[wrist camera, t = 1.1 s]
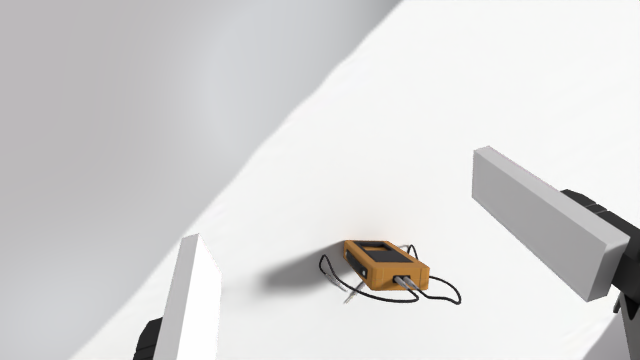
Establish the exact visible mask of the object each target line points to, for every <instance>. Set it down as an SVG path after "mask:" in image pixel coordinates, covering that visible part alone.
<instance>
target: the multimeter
mask: <svg viewBox="0 0 640 360" xmlns="http://www.w3.org/2000/svg"><path fill="white" fill-rule="evenodd" d="M411 246H412V248H413V250H414V253H415V256H416V259H415V258H414V257H412V256H411V255H409V252H410V248H411ZM324 256H325V257H326V259H327V261H328V264H329V266H330V269H331V271H332V273H333V275H334V276H335V278H336V279H337V280H338V281H339V282H341V283H342V284H343V285H345V286H346V287H348V288H350V289H351V290H353V291H355V292H354V295H357V294H358V293H359V294H362V295H364V296H367V297H370V298H373V299H377V300H381V301H386V302H394V303H412V302H416V301H418V300H419V297H418V295H416V294H415V293H414V292H413V291H412V290H417V291H419V292H420V293H421V294H422V295H424V296H425V297H426V298H428V299H442V300H448V301H451V302H452V303H454V304H456V305H459V304H461V296H460V294H459V292H458V290H457V289H456V288H455V287H454V286H453V285H451V284H450V283H448V282H446V281H444V280H442V279H440V278H437V277H433V276H429V270H430V268H429V267H428V266H426V265H425V264H423V263H422V262H420V261H419V260H418V257H417V253H416V250H415V248H414V246H413V245H410V246H409V249H408V252H407V253H406V252H405V251H403V250H401V249H400V248H398V247H397V246H395V245H393V244H392V243H390V242H389V241H356V240H346V241H345V242H344V255H343V257H344V259H345V260H346V261H347V262H348V263H349V265H350V266H351V267H352V268H353V269H354V271H355V272H356V273H357V274H358V275H359V277H360V278H361V279H362V280H363V281H364V282H363V283H362V284H361V285H360V286H359V288H358V289H355V288H353V287H351V286H349V285H347V284H346V283H344V282H343V281H341V280H340V279H339V278H338V277H337V276H336V274H335V272H334V271H333V268H332V266H331V264H330V261H329V259H328V257H327V256H326V255H323V256H322V258H321V260H320V263H319V268H320V270H321V271H322V272H323V273H324V274H325V276H326V277H327V278H329V279H330V280H331V281H333V282H334V283H335V284H336V285H337V286H340V287H342V286H341V285H340V283H339V282H338V281H336V280H335V279H334V278H333V277H331V276H330V275H329V274H327V273H325V272H324V271H323V270H322V269H321V262H322V260H323V258H324ZM429 278H432V279H436V280H439V281H442V282H444V283H446V284H448V285H449V286H450V287H452V288H453V289H454V290H455V292H456V293H457V295H458V298H459V301H458V302H456V301H454V300H452V299H450V298H447V297H433V296H427V295H426V294H425V293H423V292H422V291H421V290H427V289H428V282H429ZM365 285H367V286H368V287H369V288H370V289H371V290H374V291H383V290H407V291H409V292H410V293H412V294H413V295H414V296H415V297H416V299H413V300H393V299H385V298H381V297H376V296H373V295H369V294H367V293H364V292H361V291H360V290H361V289H362V288H363V287H364V286H365ZM342 288H343V289H344V290H345V291H347V290H346V289H345V288H344V287H342ZM347 292H348V291H347ZM354 295H353V296H352V297H351V298H350V299H349V300H348V301H347V303H348V302H349V301H350V300H351V299H352V298H353V297H354ZM347 303H346V304H347Z"/></svg>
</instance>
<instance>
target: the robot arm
mask: <svg viewBox="0 0 640 360" xmlns="http://www.w3.org/2000/svg"><path fill="white" fill-rule="evenodd" d="M472 198H473V199H474V200H475V201H477V202H478V203H479V204H480V205H481V206H482V207H483V208H484V209H485V210H486V211H487V212H489V213H490V214H491V215H492V216H493V217H494V218H495V219H496V220H497V221H498V222H499V223H501V224H502V225H503V226H504V227H505V228H506V229H507V230H508V231H509V232H510V233H511V234H513V235H514V236H515V237H516V238H517V239H518V240H519V241H520V242H521V243H522V244H523V245H524V246H526V247H527V248H528V249H529V250H530V251H531V252H532V253H533V254H534V255H535V256H536V257H538V258H539V259H540V260H541V261H542V262H543V263H544V264H545V265H546V266H547V267H548V268H550V269H551V270H552V271H553V272H554V273H555V274H556V275H557V276H558V277H559V278H560V279H562V280H563V281H564V282H565V283H566V284H567V285H568V286H569V287H570V288H571V289H572V290H574V291H575V292H576V293H577V294H578V295H579V296H580V297H581V298H582V299H583V300H584V301H585V302H589V301H592V300H595V299H598V298H601V297H604V296H607V294H608V292H609V289H610V287H611V284H613V285H614V286H615V287H617V288H618V289H619V290H620V291H621V292H620V294H619V296H618V299H617V301H616V303H615V306H614V309H613V313H618V311H619V309H620V307H621V311H622V316H623V322H624V327H625V332H626V337H627V343H628V348H629V353H630V358H631V360H640V229H638V228H637V227H635V226H633V225H632V224H630V223H629V222H627V221H625V220H624V219H622V218H620V217H619V216H617V215H615V214H614V213H612V212H611V211H607V209H606V208H604V207H602V206H601V205H599V204H596V202H594V201H593V200H591V199H589V198H588V197H586V196H584V195H583V194H580V193H577V192H574V191H571V190H568V189H566V190H562V191H558V190H557V189H555V188H554V187H552V186H550V185H549V184H547V183H546V182H544V181H543V180H541V179H540V178H538V177H537V176H535V175H533V174H532V173H530V172H529V171H527V170H526V169H524V168H523V167H521V166H519V165H518V164H516V163H515V162H513V161H512V160H510V159H509V158H507V157H506V156H504V155H502V154H501V153H499V152H498V151H496V150H495V149H493V148H492V147H490V146H487V147H483V148H480V149H477V150H474V156H473V179H472ZM221 282H222V274H221V272H220V270H219V268H218V266H217V265H216V263H215V261H214V259H213V258H212V256H211V254H210V252H209V250H208V249H207V247H206V245H205V243H204V241H203V240H202V238H201V236H200V234H199V233H198V234H195V235H192V236H188V237H185V238H182V241H181V245H180V249H179V253H178V257H177V261H176V266H175V270H174V274H173V278H172V282H171V286H170V291H169V295H168V299H167V303H166V307H165V311H164V316H163V317H161V318H158V319H155V320H152V321H149V322H148V324H147V325H146V327H145V329H144V330H143V332H142V333H141V335H140V337H139V340H138V344H137V347H136V353H135V354H134V357H133V360H216V352H217V338H218V324H219V310H220V296H221Z"/></svg>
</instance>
